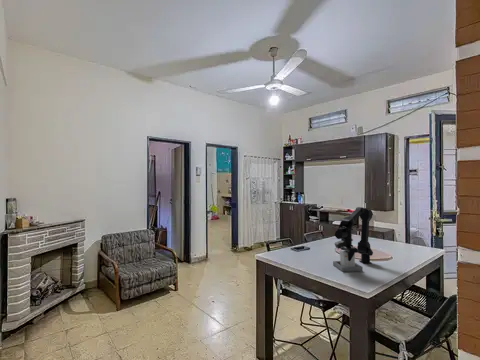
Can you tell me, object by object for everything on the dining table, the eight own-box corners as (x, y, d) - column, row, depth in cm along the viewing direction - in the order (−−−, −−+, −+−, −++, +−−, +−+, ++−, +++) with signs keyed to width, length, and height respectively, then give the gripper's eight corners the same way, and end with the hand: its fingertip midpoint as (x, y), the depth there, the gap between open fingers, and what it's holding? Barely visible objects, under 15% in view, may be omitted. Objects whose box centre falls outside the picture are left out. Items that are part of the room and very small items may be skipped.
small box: (351, 264, 183) (350, 249, 183) (355, 266, 178) (354, 251, 178) (340, 264, 183) (339, 249, 183) (343, 267, 177) (343, 251, 177)
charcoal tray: (333, 265, 187) (333, 261, 187) (352, 264, 188) (351, 260, 188) (342, 272, 173) (342, 267, 173) (362, 271, 174) (362, 267, 174)
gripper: (330, 234, 189) (330, 256, 189) (342, 240, 170) (342, 264, 170) (345, 234, 190) (345, 255, 190) (358, 240, 171) (358, 263, 171)
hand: (347, 259), depth 180 cm, fingers closed on small box, 5 cm apart
